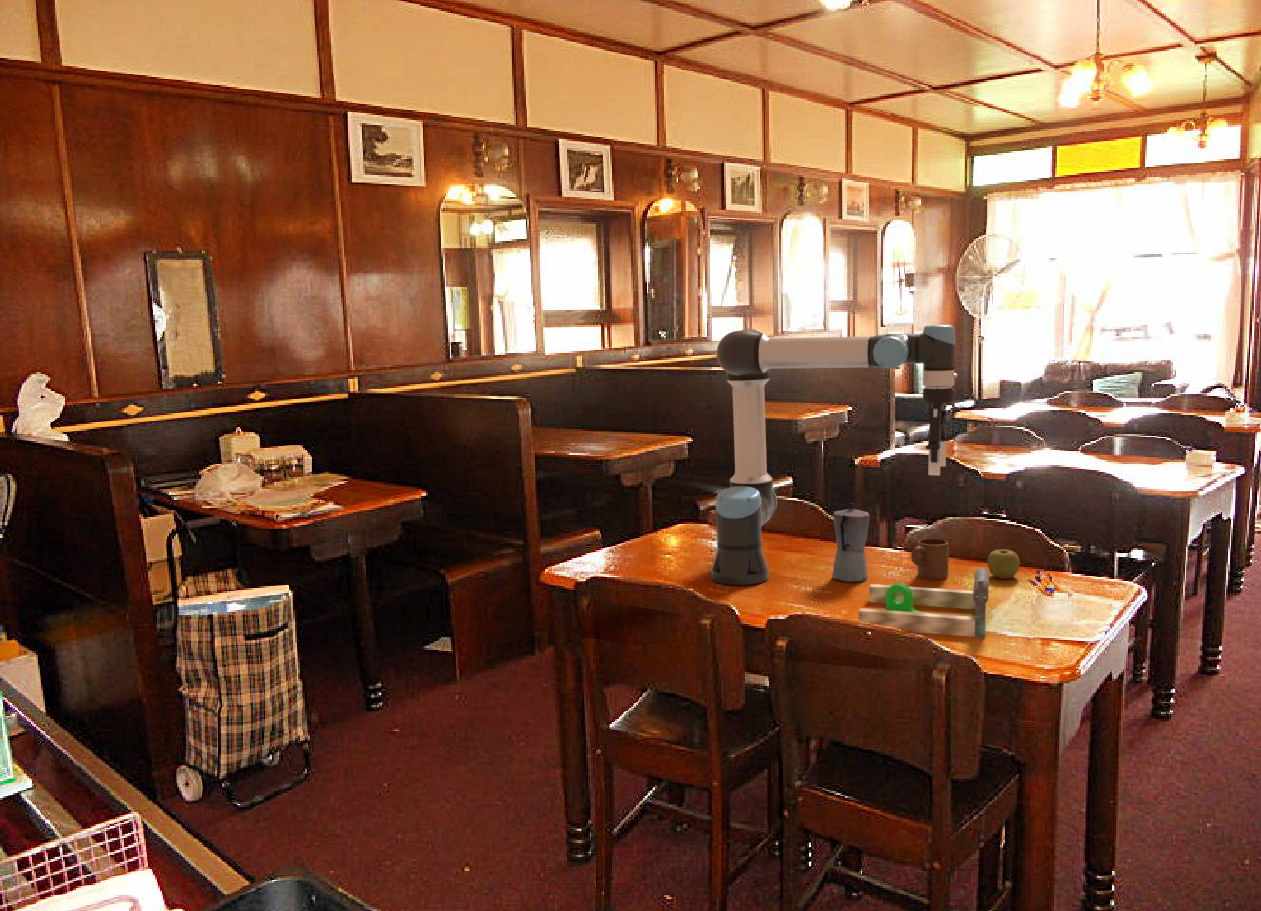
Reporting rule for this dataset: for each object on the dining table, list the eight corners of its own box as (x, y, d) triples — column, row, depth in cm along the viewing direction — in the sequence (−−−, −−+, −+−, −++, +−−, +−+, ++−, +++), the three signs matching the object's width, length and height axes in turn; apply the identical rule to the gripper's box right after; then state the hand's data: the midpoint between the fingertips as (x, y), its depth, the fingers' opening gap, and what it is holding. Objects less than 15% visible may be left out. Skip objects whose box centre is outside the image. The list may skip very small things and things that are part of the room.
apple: (982, 579, 238) (982, 552, 237) (994, 572, 244) (995, 545, 243) (1012, 584, 233) (1012, 556, 232) (1024, 577, 239) (1024, 550, 238)
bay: (857, 630, 204) (857, 573, 202) (870, 599, 225) (870, 547, 223) (987, 641, 195) (988, 581, 193) (987, 608, 215) (989, 554, 213)
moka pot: (874, 572, 247) (874, 499, 244) (863, 589, 234) (863, 511, 231) (838, 569, 251) (838, 497, 248) (825, 585, 238) (824, 509, 235)
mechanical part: (879, 622, 210) (879, 588, 208) (889, 614, 214) (889, 581, 213) (932, 631, 203) (932, 596, 201) (941, 623, 207) (941, 588, 206)
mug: (924, 586, 234) (925, 549, 233) (900, 579, 240) (900, 544, 239) (954, 577, 241) (954, 541, 239) (929, 571, 247) (930, 536, 246)
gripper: (949, 391, 221) (947, 479, 224) (958, 382, 243) (957, 463, 247) (916, 391, 224) (915, 478, 227) (928, 382, 246) (927, 462, 250)
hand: (937, 470), depth 237 cm, fingers open, 13 cm apart
